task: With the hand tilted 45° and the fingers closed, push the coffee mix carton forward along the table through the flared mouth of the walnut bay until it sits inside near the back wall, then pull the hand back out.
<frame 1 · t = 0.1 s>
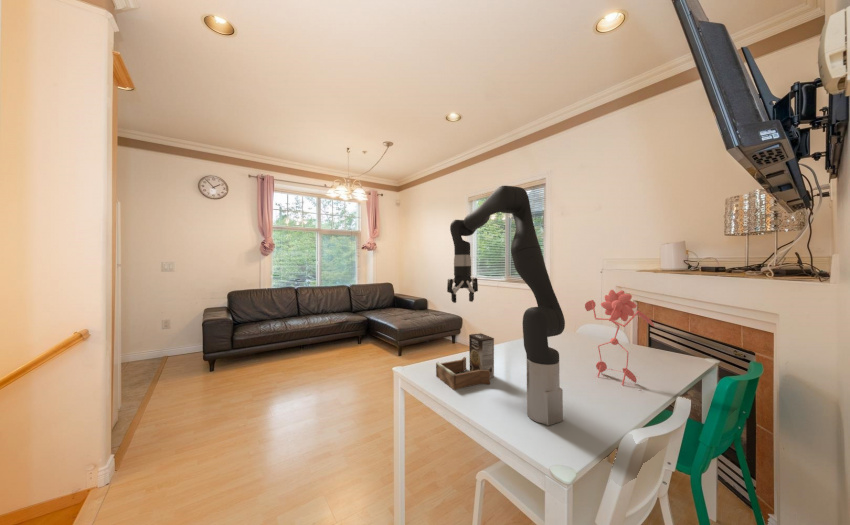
hand: (462, 302, 130), 29 cm above the table, tool pointing down, fingers open, 8 cm apart
bay: (457, 379, 117), on the table
pink flower stick figure: (619, 378, 117), on the table
coffee box: (481, 375, 122), on the table
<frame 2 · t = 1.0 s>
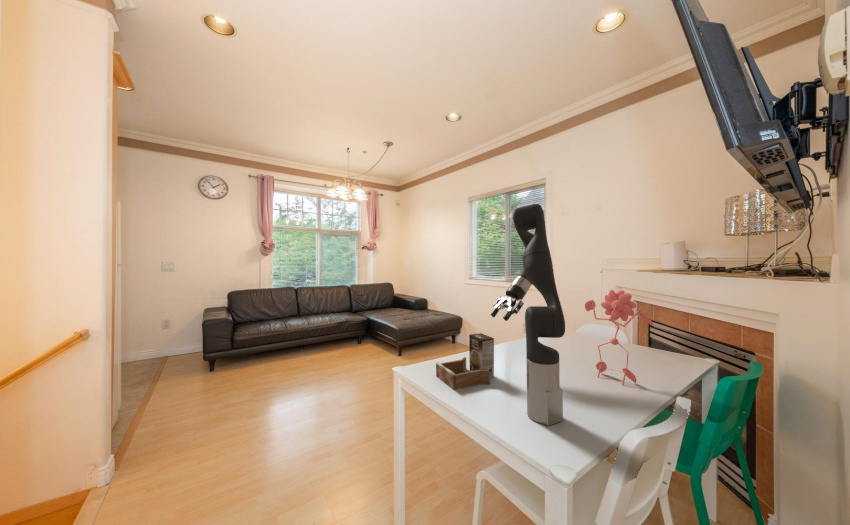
hand: (498, 317, 126), 23 cm above the table, tool tilted 45°, fingers open, 7 cm apart
nothing on the table moved.
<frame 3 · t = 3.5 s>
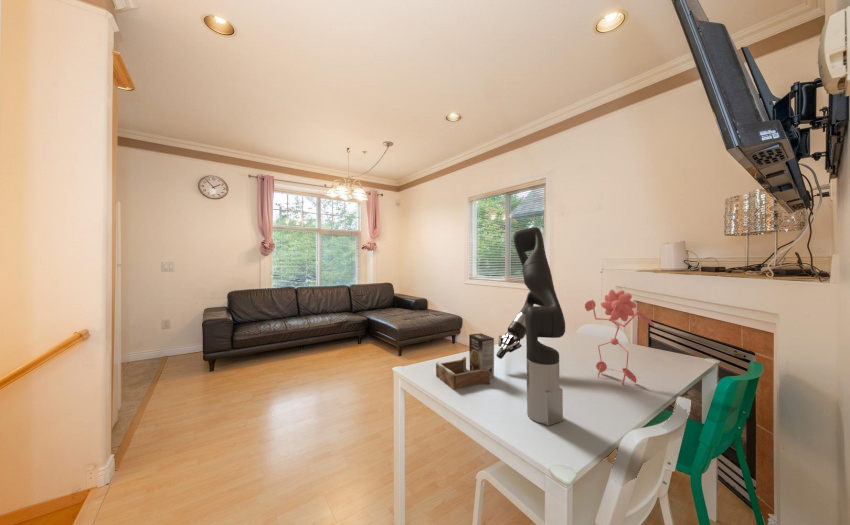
hand: (498, 357, 126), 6 cm above the table, tool tilted 45°, fingers closed
nothing on the table moved.
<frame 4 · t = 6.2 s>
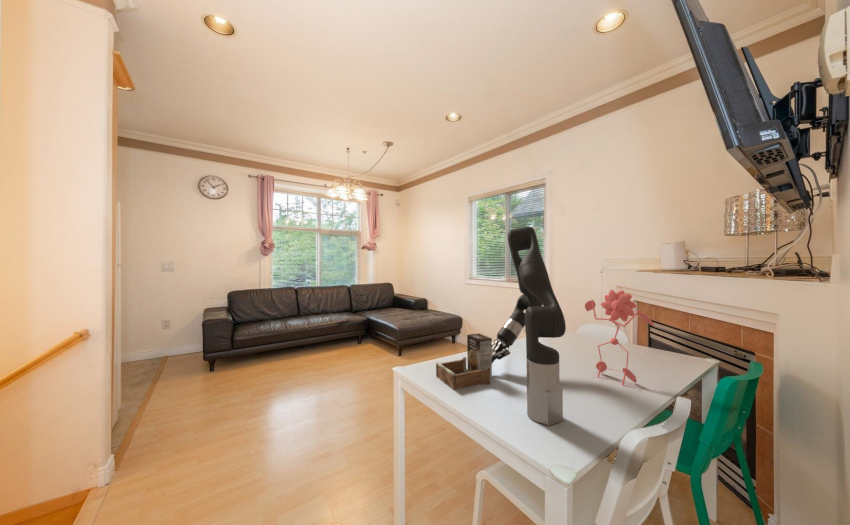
hand: (487, 364, 123), 4 cm above the table, tool tilted 45°, fingers closed
coffee box: (479, 375, 122), on the table, touching gripper
everything else where it was.
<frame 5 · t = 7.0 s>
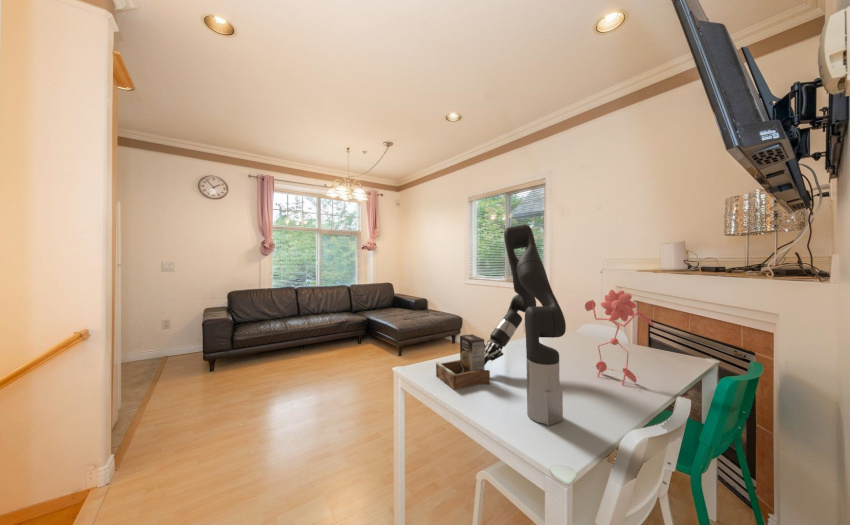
hand: (479, 365, 122), 4 cm above the table, tool tilted 45°, fingers closed
coffee box: (472, 377, 120), on the table, touching gripper
everything else where it was.
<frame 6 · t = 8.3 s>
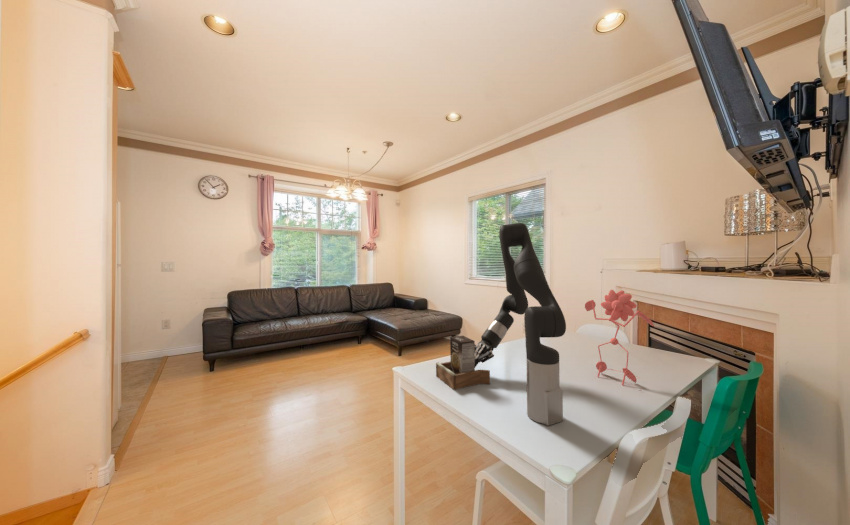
hand: (470, 367, 120), 4 cm above the table, tool tilted 45°, fingers closed
coffee box: (462, 378, 118), on the table, touching gripper
everything else where it was.
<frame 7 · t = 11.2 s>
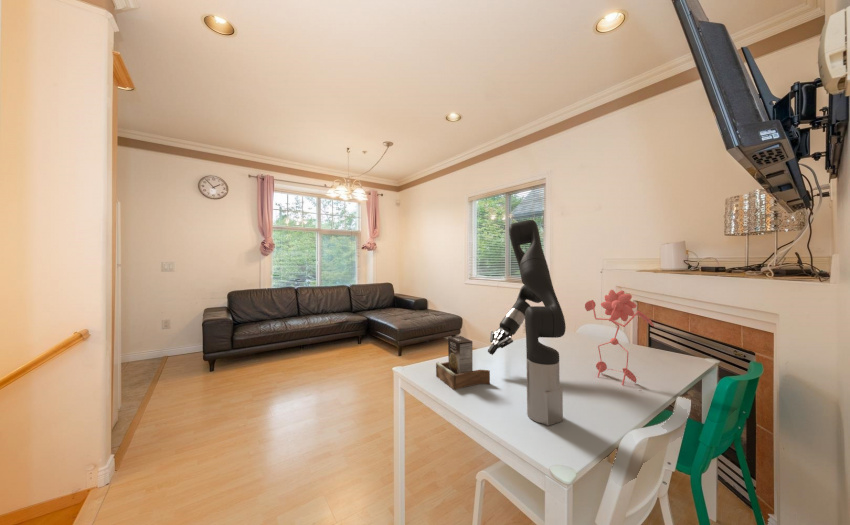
hand: (489, 353, 123), 8 cm above the table, tool tilted 45°, fingers closed
coffee box: (460, 379, 118), on the table
everything else where it was.
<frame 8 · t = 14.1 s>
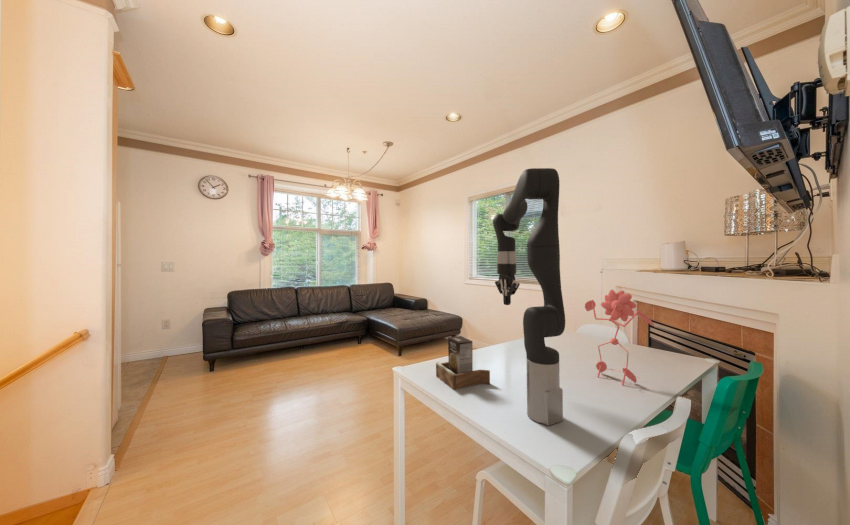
hand: (507, 304, 121), 29 cm above the table, tool pointing down, fingers closed
nothing on the table moved.
at the end: coffee box inside the target area on the bay (2.2 cm from its centre), point 0.0 cm above the bay's base; coffee box tilted 0°; the gripper is holding nothing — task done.
